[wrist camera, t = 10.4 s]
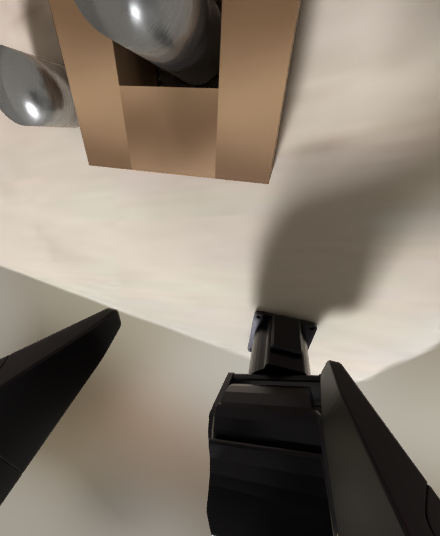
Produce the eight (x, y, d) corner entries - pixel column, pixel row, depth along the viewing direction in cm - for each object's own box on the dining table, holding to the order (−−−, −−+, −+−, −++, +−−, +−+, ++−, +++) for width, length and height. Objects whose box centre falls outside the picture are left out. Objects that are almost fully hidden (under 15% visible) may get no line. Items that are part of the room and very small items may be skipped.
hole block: (271, 173, 16) (268, 184, 12) (128, 159, 18) (89, 165, 14) (336, -204, 9) (378, -466, 5) (80, -154, 11) (-28, -310, 7)
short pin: (92, 129, 18) (49, 127, 14) (52, 126, 18) (2, 124, 15) (78, 63, 16) (23, 43, 12) (33, 63, 16) (-31, 44, 13)
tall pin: (224, 85, 14) (173, 40, 7) (168, 84, 15) (76, 40, 8) (229, -7, 12) (164, -186, 5) (163, -4, 13) (33, -159, 6)
